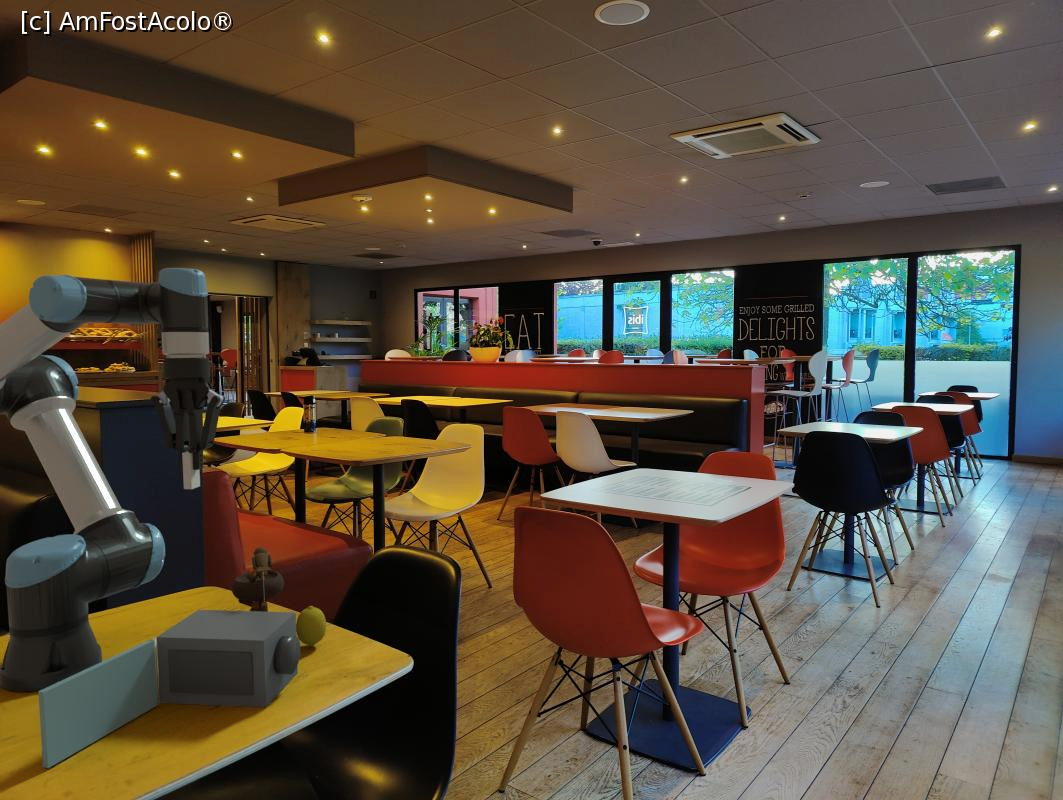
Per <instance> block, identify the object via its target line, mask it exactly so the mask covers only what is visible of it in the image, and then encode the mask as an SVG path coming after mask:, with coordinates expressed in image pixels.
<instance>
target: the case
mask: <svg viewBox="0 0 1063 800" xmlns="http://www.w3.org/2000/svg"><path fill="white" fill-rule="evenodd" d="M296 623H297V612H292V611H290V612H289V611H287V612H286V611H268V612H262V611H250V610H225V609H224V610H223V609H222V610H220V609H217V610H216V609H197V610H195V611H194V612H192V613H191V614H190V615H188V616H186V617H185V618H183V619H182V620H181V621H179V622H177V623H176V624H174V625H172V627H171V626H170V628H168V629H167V630H165V631H164V632H162V633H161V634H159V635H158V636H156V644H157V665H158V686H159V704H177V705H197V706H198V705H203V706H222V707H224V706H225V707H227V706H228V707H248V708H249V707H250V708H267V707H268V706H269V705H270V704H271V703H272V701H274V699H276V697H277V696H278V695H279V694H280V693H281V692H282V691H283V690H284V689H285V687H286V686H287V685H288V684H289V683H291V681H292V680H293V679H294V678H295V677H296V676H297V675H298V671H299V669H298V668H299V667H298V665H299V662H300V659H301V641H300V640H299V638H298V636H297V632H296ZM294 676H295V677H294ZM293 677H294V678H293ZM292 678H293V679H292ZM282 689H283V690H282Z"/></svg>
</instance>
